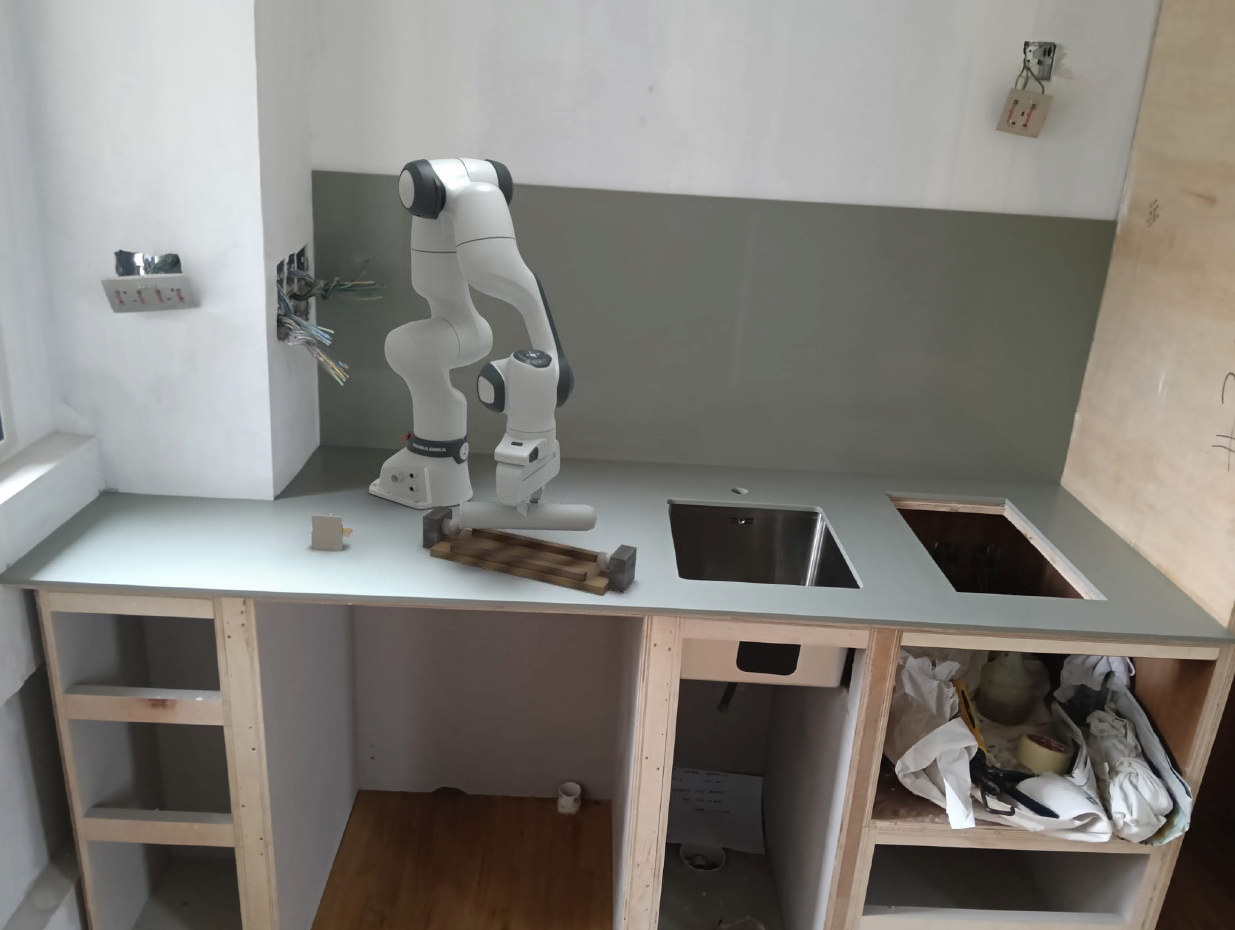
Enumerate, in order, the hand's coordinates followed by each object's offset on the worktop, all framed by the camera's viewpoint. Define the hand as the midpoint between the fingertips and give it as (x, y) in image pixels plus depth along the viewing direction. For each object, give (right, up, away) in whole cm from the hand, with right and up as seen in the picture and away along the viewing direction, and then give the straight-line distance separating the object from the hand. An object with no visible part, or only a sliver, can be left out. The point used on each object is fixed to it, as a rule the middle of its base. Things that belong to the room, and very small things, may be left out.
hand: (529, 511), depth 183 cm
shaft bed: (-1, -10, +4) cm, 11 cm away
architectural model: (-38, -8, +5) cm, 40 cm away
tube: (0, -3, 0) cm, 3 cm away
